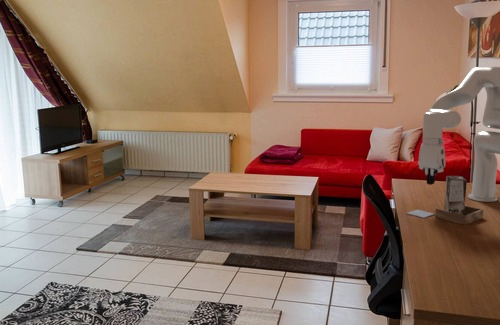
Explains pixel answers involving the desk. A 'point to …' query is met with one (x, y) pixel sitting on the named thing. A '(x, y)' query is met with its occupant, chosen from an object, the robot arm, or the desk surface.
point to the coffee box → (455, 194)
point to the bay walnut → (470, 216)
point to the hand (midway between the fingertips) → (430, 183)
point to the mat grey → (420, 213)
